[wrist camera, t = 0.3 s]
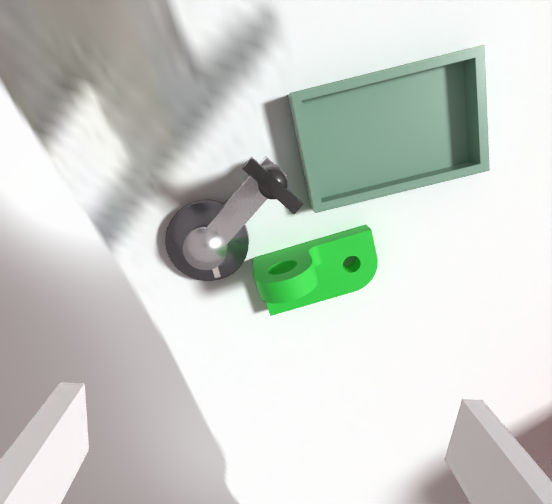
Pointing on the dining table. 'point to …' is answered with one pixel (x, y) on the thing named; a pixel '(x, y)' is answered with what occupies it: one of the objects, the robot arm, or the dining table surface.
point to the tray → (393, 129)
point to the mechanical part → (315, 270)
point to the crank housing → (190, 219)
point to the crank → (238, 213)
